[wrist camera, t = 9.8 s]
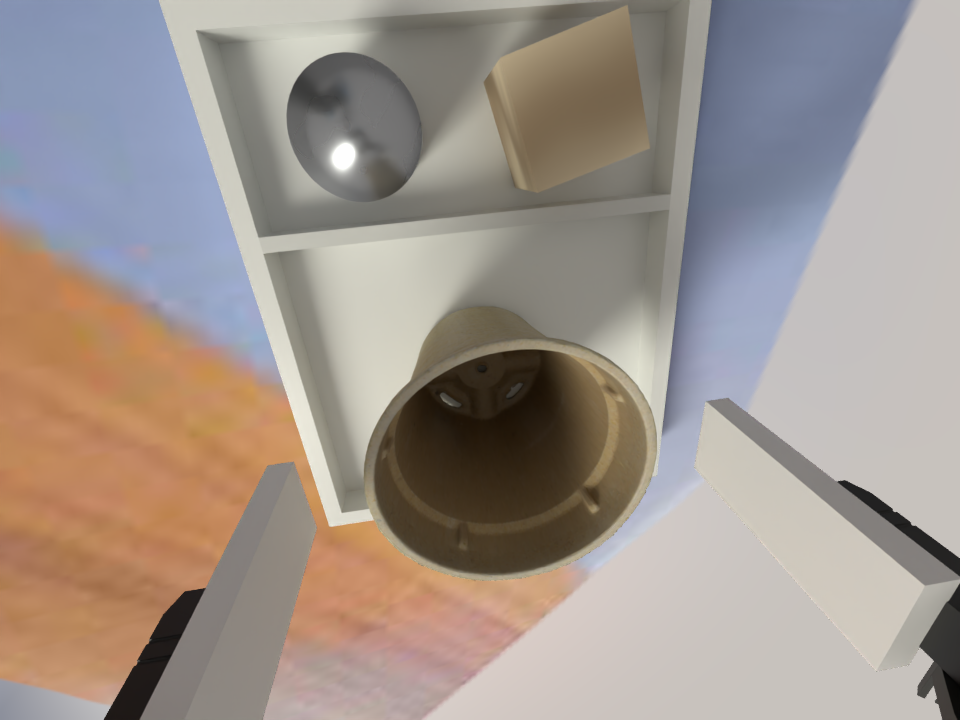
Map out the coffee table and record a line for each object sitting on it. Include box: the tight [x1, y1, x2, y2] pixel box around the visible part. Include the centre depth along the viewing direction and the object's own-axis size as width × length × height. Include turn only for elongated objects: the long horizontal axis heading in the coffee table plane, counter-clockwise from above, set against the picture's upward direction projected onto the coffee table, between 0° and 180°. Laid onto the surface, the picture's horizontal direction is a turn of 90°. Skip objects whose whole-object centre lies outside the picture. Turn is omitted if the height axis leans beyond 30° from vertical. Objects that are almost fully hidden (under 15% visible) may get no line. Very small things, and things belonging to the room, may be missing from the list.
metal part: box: [286, 52, 423, 202], centre depth 15 cm, size 4×4×4 cm
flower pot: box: [363, 306, 657, 581], centre depth 17 cm, size 9×9×9 cm
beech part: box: [483, 5, 650, 193], centre depth 15 cm, size 4×4×4 cm
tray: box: [159, 0, 712, 527], centre depth 19 cm, size 22×18×2 cm
